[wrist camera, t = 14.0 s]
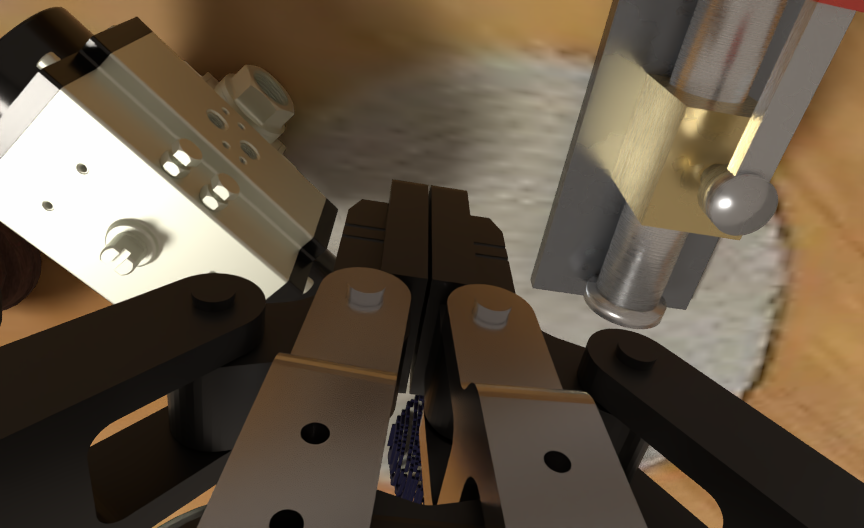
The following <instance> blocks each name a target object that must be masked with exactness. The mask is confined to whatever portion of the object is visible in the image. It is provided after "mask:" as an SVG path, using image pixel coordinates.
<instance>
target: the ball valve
mask: <svg viewBox="0 0 864 528" xmlns="http://www.w3.org/2000/svg"><path fill="white" fill-rule="evenodd" d="M293 115H294V105H293V102H292V100H291V98H290V96H289V94H288V93H287V91H286V90H285V89H284V87H283V86H282V85H281V84H280V83H279V82H278V81H277V80H276V79H275V78H274V77H273V76H272V75H271V74H270V73H268V72H267V71H265V70H264V69H262V68H260V67H258V66H255V65H244V66H243V67H242V68H241V69H240V70H239V71H238V72H237V73H236V74H231V73H230V74H227V75H226V76H225V77H224V78H223V79H222V80H221V81H220V82H218V81H217V80H216V79H215V78H214V77H213V76H212V75H211V74H210V73H209V72H207V73H206V74H205V75H204V76H201V75H199V74H198V73H197V72H196V71H195V70H194V69H193V68H192V67H191V66H190V65H189V64H188V63H187V62H186V61H185V60H182V59H181V58H180V57H179V56H178V55H177V54H176V53H175V52H174V51H172V50H171V49H170V48H169V47H168V46H167V45H166V44H165V43H164V42H163V41H162V40H161V39H160V38H159V37H158V36H157V35H156V34H155V33H154V32H153V31H152V30H151V29H150V28H148V27H147V26H146V25H145V24H144V23H143V22H142V21H141V20H140V19H139V18H138V17H135V18H133V19H131V20H128V21H126V22H124V23H121V24H119V25H117V26H116V25H113V26H111V27H110V28H108V29H107V30H105V31H103V32H100V33H98V34H96V35H93V34H92V33H91V32H90V31H89V30H88V29H87V28H86V27H84V26H83V25H82V24H81V23H80V22H79V21H78V20H77V19H76V18H75V17H74V16H72V15H71V14H70V13H69V12H68V11H67V10H66V9H64V8H62V7H52V8H48V9H45V10H43V11H41V12H39V13H37V14H35V15H33V16H31V17H30V18H28V19H26V20H25V21H23V22H22V23H20V24H19V25H17V26H16V27H14V28H13V29H12V30H10V31H9V32H8V33H7V34H5V35H4V36H3V37H2V38H0V222H2V223H3V224H4V225H6V226H7V227H9V228H10V229H11V230H13V231H14V232H15V233H17V234H18V235H19V236H21V237H22V238H24V239H25V240H26V241H28V242H29V243H30V244H32V245H33V246H35V247H36V248H37V249H39V250H40V251H41V252H43V253H44V254H45V255H47V256H48V257H50V258H51V259H52V260H54V261H55V262H56V263H58V264H59V265H60V266H62V267H63V268H65V269H66V270H67V271H69V272H70V273H71V274H73V275H74V276H76V277H77V278H78V279H80V280H81V281H82V282H84V283H85V284H86V285H88V286H89V287H91V288H92V289H93V290H95V291H96V292H97V293H99V294H100V295H101V296H103V297H104V298H106V299H107V300H108V301H110V302H111V303H112V304H116V303H119V302H122V301H124V300H127V299H130V298H132V297H135V296H138V295H140V294H143V293H146V292H149V291H151V290H154V289H157V288H159V287H162V286H165V285H167V284H170V283H173V282H175V281H178V280H181V279H183V278H187V277H190V276H193V275H198V274H206V273H224V274H231V275H236V276H240V277H243V278H245V279H248V280H250V281H252V282H253V283H255V284H256V285H257V286H259V287H260V288H261V290H262V291H263V293H264V295H265V299H266V303H281V302H292V301H298V300H302V299H306V298H309V297H311V296H314V295H316V293H317V290H318V288H319V286H320V283H321V282H322V280H323V279H324V278H325V277H326V276H327V275H329V274H330V273H332V272H333V269H334V265H335V261H336V256H335V255H334V254H332V253H331V252H330V251H329V250H328V249H327V246H328V243H329V239H330V236H331V232H332V229H333V225H334V222H335V218H336V215H337V212H338V209H337V208H336V207H335V206H334V205H333V204H332V203H331V202H330V201H329V200H328V199H327V198H326V197H325V196H324V195H323V194H322V193H321V192H320V191H318V190H317V189H316V188H315V187H314V186H313V185H312V184H311V183H310V182H309V181H308V180H307V179H306V178H305V177H304V176H303V175H302V174H301V173H300V172H299V171H298V170H297V168H296V167H295V166H294V165H293V164H292V163H291V162H290V161H289V160H288V159H287V158H286V157H285V156H284V155H283V152H284V151H285V149H286V146H285V145H283V144H282V143H281V142H280V141H279V140H278V139H277V138H278V137H279V136H280V135H281V134H282V133H283V132H284V131H285V123H286V122H287V121H288V120H289V119H290V118H291V117H292V116H293Z"/></svg>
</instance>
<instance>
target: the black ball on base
mask: <svg viewBox="0 0 864 528" xmlns="http://www.w3.org/2000/svg"><path fill="white" fill-rule="evenodd" d="M40 273H41V257H40V252H39V249H37V248H36V247H35V246H33V245H32V244H30V243H29V242H28V241H26V240H25V239H24V238H22V237H21V236H19V235H18V234H17V233H15V232H14V231H13V230H11V229H10V228H9V227H7V226H6V225H4V224H3V223H2V222H0V325H1V322H2V311H3V310H7V309H9V308H11V307H13V306H15V305H17V304H18V303H20V302H21V301H22V300H23V299H24V298H26V297H27V296H28V295H29V294H30V293H31V291H32V290H33V289H34V287H35V286H36V284H37V282H38V279H39V276H40Z"/></svg>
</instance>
